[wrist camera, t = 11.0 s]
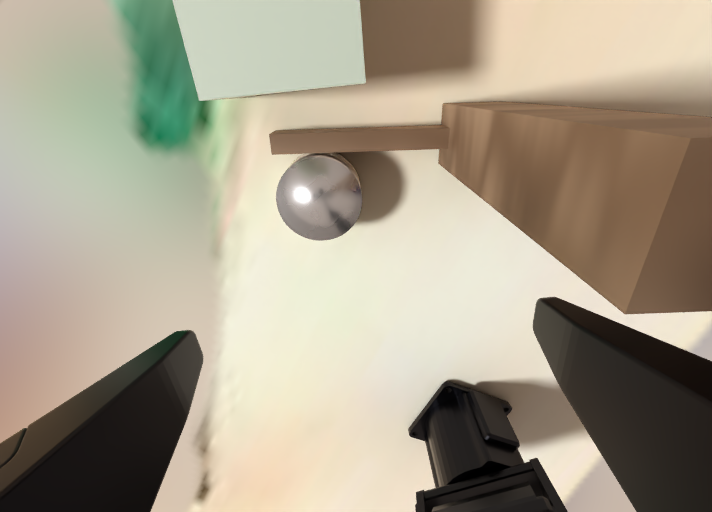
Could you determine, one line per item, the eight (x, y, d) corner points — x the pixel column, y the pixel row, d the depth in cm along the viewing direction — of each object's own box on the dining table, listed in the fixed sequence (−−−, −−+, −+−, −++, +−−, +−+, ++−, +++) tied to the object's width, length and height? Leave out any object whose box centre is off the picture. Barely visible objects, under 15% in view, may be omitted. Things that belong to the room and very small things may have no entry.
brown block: (493, 161, 20) (790, 307, 7) (280, 168, 20) (140, 331, 6) (501, 101, 19) (901, 130, 5) (273, 108, 19) (75, 159, 5)
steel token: (335, 237, 22) (334, 254, 20) (270, 201, 21) (261, 214, 19) (375, 176, 20) (378, 187, 18) (307, 133, 19) (301, 139, 17)
